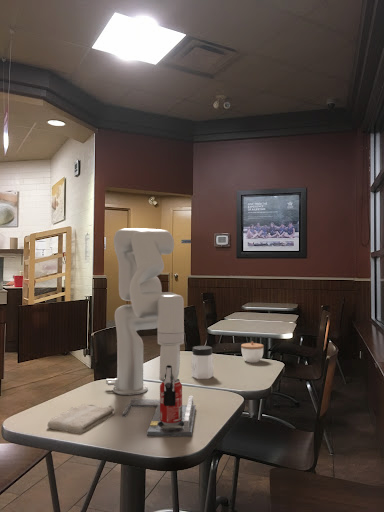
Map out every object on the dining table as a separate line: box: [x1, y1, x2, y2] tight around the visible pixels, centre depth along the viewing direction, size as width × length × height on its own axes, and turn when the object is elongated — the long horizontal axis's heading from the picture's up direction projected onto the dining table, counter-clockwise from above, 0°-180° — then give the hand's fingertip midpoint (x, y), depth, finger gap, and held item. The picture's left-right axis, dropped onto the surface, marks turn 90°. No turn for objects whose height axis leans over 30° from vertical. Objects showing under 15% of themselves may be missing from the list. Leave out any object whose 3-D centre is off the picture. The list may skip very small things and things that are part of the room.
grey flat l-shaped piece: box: [121, 398, 160, 418], centre depth 141 cm, size 12×16×1 cm
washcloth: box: [47, 403, 115, 434], centre depth 131 cm, size 12×18×3 cm, turn 159°
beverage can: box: [159, 378, 183, 427], centre depth 124 cm, size 6×6×12 cm
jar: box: [191, 345, 214, 380], centre depth 182 cm, size 9×8×12 cm
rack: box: [146, 395, 196, 438], centre depth 130 cm, size 12×23×4 cm, turn 177°
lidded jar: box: [240, 341, 265, 364], centre depth 210 cm, size 11×11×9 cm
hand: (171, 400), depth 124 cm, fingers closed on beverage can, 6 cm apart
